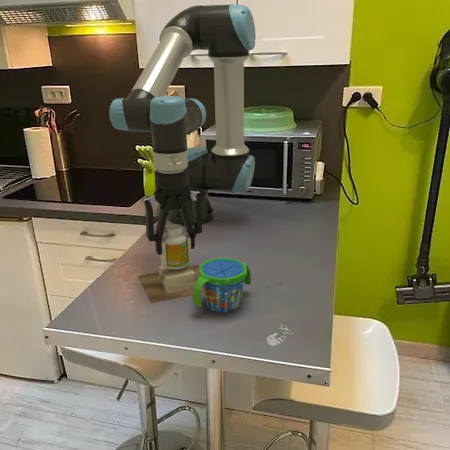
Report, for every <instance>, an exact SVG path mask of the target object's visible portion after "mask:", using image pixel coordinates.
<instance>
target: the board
mask: <svg viewBox="0 0 450 450" xmlns="http://www.w3.org/2000/svg"><path fill="white" fill-rule="evenodd" d="M189 266H190V267H191V269H192V270H193V271H194V273H195V283H196V281H197V279H198V278H199V276H200V275H199V267H200V265H199V264H196V265H189ZM137 278H138V280H139V282H140V283H141V286H142V288H143V290H144V291H145V292H144V293H145V294H146V296H147V297H148V300H149V302H150V304H154V303H159V302H165V301H169V300H174V299H178V298H184V297H188V296H193V291H194V289H189V290H185V291H180V292H175V293H170V294H167V293H166V291H165V289H164V287H163V286H162V284H161V282H160V277H159V271H158V272H153V273H148V274H142V275H137ZM200 292H201V294H203V293H204V290H203V286H202V288H201V289H200Z"/></svg>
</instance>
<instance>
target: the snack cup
mask: <svg viewBox="0 0 450 450" xmlns="http://www.w3.org/2000/svg"><path fill="white" fill-rule="evenodd" d="M199 275H200V276H199V278H198V279H197V281H196V283H195V286H194V291H193V295H192V300H193V301H192V302H193V303H194V305H196V306H197V307H198V308H199V307H200V308H202V301H201V298H202V297H201V294H202V293H201V292H200V289H201V288H202V286H203V290H204V292H203V293H204V294H203V295H204V299H205V303H206V304H205V305H206V307H207V308H208V310H209V309H210V310H211V311H214V312H216V313H230V312H232V311H235V310H237V309H239V307H240V306H241V302H242V297H243V296H242V295H243V290H244V284H246V285H247V286H249V285H251V284H252V273H251V269H250V267H249V265H248V264H246V263H244V262H242V261H240V260H238V259H235V258H229V257H216V258H211V259H209V260H208V259H207V260H205V261H204V262H203V263H201V264H200V265H199Z"/></svg>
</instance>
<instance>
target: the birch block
mask: <svg viewBox="0 0 450 450" xmlns="http://www.w3.org/2000/svg"><path fill="white" fill-rule="evenodd" d="M190 266H191V265H190V264H189V263H187V265H186V266H185V267H184V268H181V269H170V268H168V267H167V268H163V266H162V265H158V272H159V277H160V282H161V284H162V286H163V287H164V289H165V291H166V293H167V294H170V293H175V292H180V291H185V290H189V289H194V286H195V273H194V271H193V270H192V269H191V267H190Z"/></svg>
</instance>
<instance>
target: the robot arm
mask: <svg viewBox="0 0 450 450" xmlns="http://www.w3.org/2000/svg"><path fill="white" fill-rule="evenodd" d="M255 26H256V25H255V20H254V17H253V14H252V12H251V9H250V8H249V7H248V6H246V5H244V4H234V3H231V4H213V5H212V4H211V5H199V4H198V5H194V6H190V7H188V8H185V9H184V10H182V11H180V12H178V13H177V14H175V15H174V16H173V18H171V19H170V20H169V21H168V22H167V23H166V24H165V26H164V27H163V29H162V30H161V32H160V34H159V38H158V40H159V42H158V45H157V46H156V49H155V50H154V51H153V53H152V55H151V57H150V59H149V60H148V62H147V64H146V65H145V67H144V69H143V71H142V72H141V74H140V76H139V77H138V79H137V80H136V82H135V84H134V86H133V88H132V89H131V91H130V92H129V94H128V95H127V97H126V98H124V97H121V98H115V99H113V100H112V102H111V103H110V105H109V110H108V111H109V112H108V113H109V120H110V122H111V125H112V127H113V128H114V129H116V130H119V131H124V132H125V131H126V132H139V133H140V132H143V133H151V141H152V159H153V168H154V173H153V175H154V177H153V178H154V189H155V190H154V192H153V194H152V196H149V197H142V203H143V206H144V207H145V226H146V227H145V230H146V231H145V232H146V233H145V234H146V237H147V239H148V241H149V242H155V243H154V245H155V247H154V248H155V252H156V254H157V255H158V256H159V257H160V258H159V259H160V264H161V265H160V266H163V268H167V261H166V245H165V241H164V233H165V230H166V226H167V225H166V224H167V219H168V221H169V222H171V223H173V224H179V225H182V226H184V227H185V231H186V233H184V234H185V236H186V239H187V259H188V264H189V265H190V264H192V263H193V262H192V261H193V260H192V249H195V247H196V244H195V242H196V241H195V239H196V237H197V235H198V234H199V235H200V234H202V232H203V225H204V224H208V223H211V222H212V221H213V220H214V218H215V211H214V208H213V205H212V203H211V202H212V201H211V200H210V197H209V191H216V192H227V193H229V192H230V193H233V194H235V193H246V192H247V191H248V190H249V189H250V186H251V184H252V182H253V181H252V180H253V178H254V173H255V167H256V166H255V165H256V161H255V157H254V156H253V155H250V148H249V147H248V146H247V145H245V102H244V101H245V97H244V95H245V92H244V91H245V84H244V83H245V82H244V81H245V80H244V79H245V75H244V74H245V71H244V70H245V68H244V67H245V66H244V64H245V62H246V60H247V59H248V58H249V57H250V51H252V50H254V48H255V46H256V38H257V37H256V27H255ZM198 50H199V51H201V50H202V51H207V55H208V56H207V57H208V58H209V60H210V61H211V62H212V63H213V73H214V74H213V77H214V111H215V113H214V114H215V118H214V119H215V145H214V146H213V148H211V153H209V152H208V149H207V148H206V147H203V146H193V147H188V135H189V134H192V133H194V132H197V131H198V130H199V129H200V128H201V127H203V125H204V124H205V122H206V119H207V111H206V108H205V105H204V104H203V103H202V102H201V101H199V99H196V98H192V97H191V98H183V97H181V96H178V95H166V92H167V90H168V89H169V87H170V85H171V84H172V82H173V80H174V78H175V76H176V74H177V71H178V70H179V68H180V66H181V64H182V62H183V60H184V59H185V58H187V57H189V56H190V55H191V53H192V52H193V51H198ZM155 202H157V204H159V214H158V217H157V221H156V222H157V223H156V226H155V223H154V222H155V221H154V208H153V207H155ZM154 226H155V227H154Z"/></svg>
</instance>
